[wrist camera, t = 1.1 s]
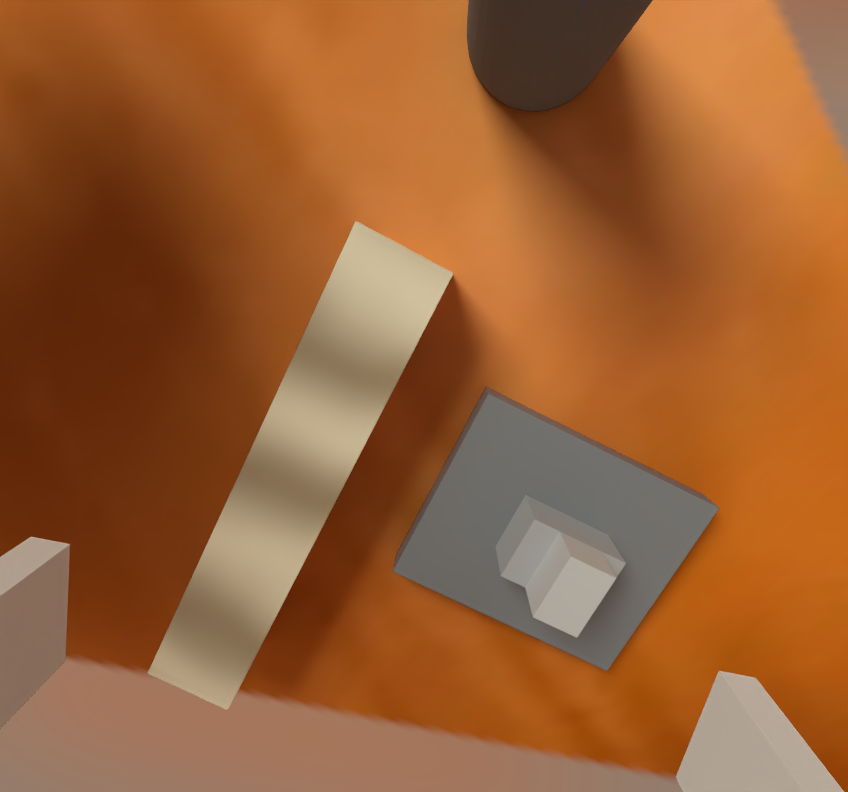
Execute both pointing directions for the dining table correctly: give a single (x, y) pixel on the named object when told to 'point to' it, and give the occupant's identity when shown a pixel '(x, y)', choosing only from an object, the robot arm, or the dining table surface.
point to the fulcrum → (551, 531)
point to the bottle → (545, 46)
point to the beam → (300, 461)
